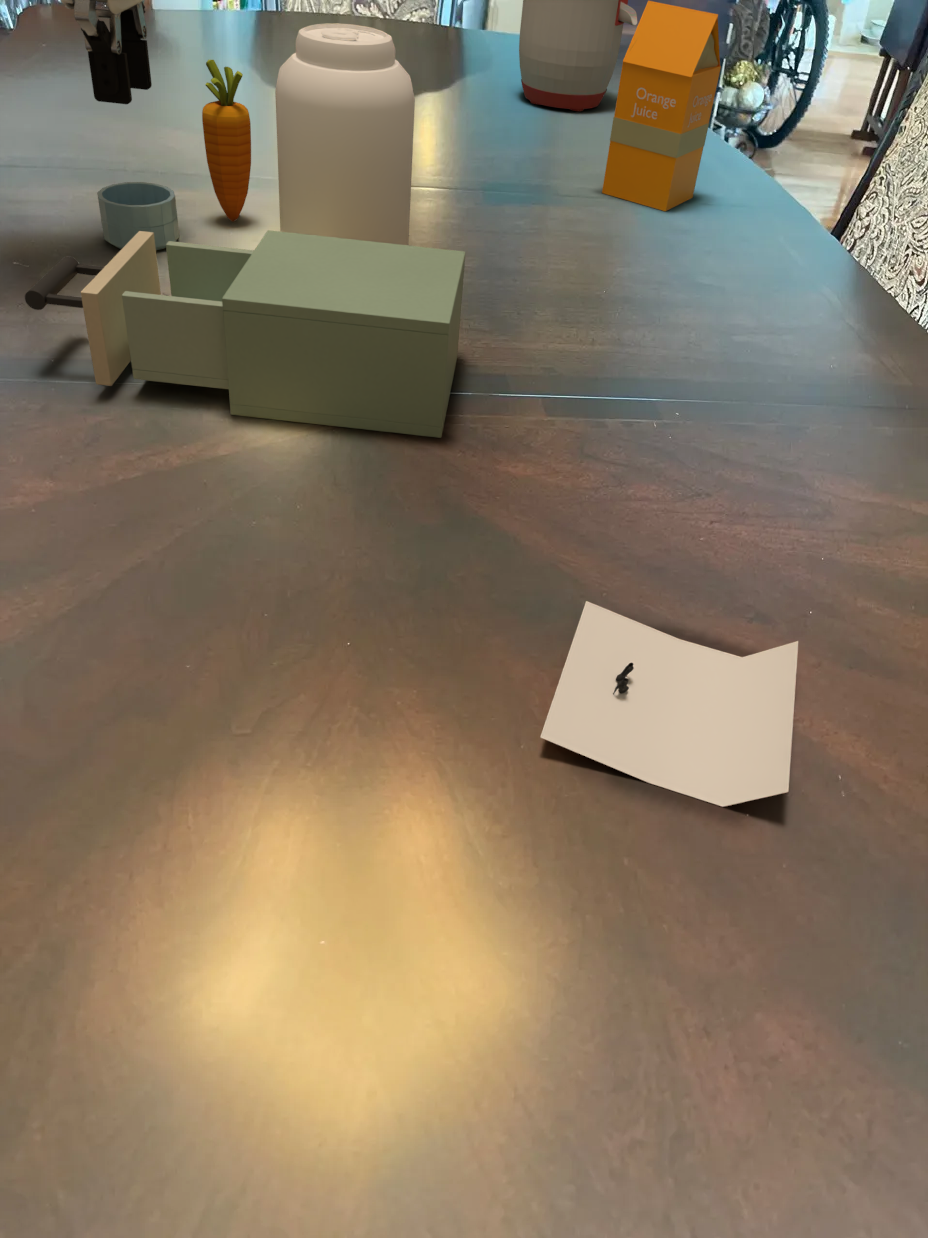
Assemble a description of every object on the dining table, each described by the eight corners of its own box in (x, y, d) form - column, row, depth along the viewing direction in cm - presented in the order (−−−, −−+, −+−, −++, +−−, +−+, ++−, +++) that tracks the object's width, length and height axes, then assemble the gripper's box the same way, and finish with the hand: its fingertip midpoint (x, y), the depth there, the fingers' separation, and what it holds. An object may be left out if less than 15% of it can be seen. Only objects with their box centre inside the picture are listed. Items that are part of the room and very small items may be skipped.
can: (376, 293, 95) (382, 53, 82) (257, 266, 98) (245, 29, 85) (426, 251, 104) (439, 29, 91) (316, 227, 107) (313, 9, 94)
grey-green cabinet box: (230, 414, 76) (221, 297, 70) (272, 336, 86) (267, 229, 80) (441, 438, 75) (449, 322, 70) (457, 356, 86) (465, 251, 80)
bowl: (93, 249, 98) (86, 201, 95) (118, 224, 103) (112, 178, 100) (166, 257, 97) (161, 209, 95) (188, 232, 103) (183, 186, 100)
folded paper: (583, 615, 61) (588, 589, 59) (788, 666, 59) (798, 640, 57) (536, 755, 52) (541, 728, 50) (776, 821, 50) (788, 795, 48)
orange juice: (630, 179, 129) (662, -3, 116) (693, 197, 125) (734, 10, 112) (600, 192, 123) (630, 3, 111) (665, 211, 120) (704, 18, 107)
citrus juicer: (611, 123, 149) (636, -37, 136) (498, 104, 153) (513, -55, 140) (632, 101, 161) (657, -49, 148) (527, 83, 164) (543, -65, 151)
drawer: (22, 376, 76) (1, 283, 71) (84, 308, 85) (69, 222, 81) (290, 405, 75) (287, 314, 71) (322, 334, 85) (321, 250, 80)
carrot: (265, 225, 106) (257, 66, 96) (220, 232, 104) (208, 69, 94) (244, 210, 109) (235, 54, 99) (201, 216, 107) (187, 56, 97)
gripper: (85, -168, 87) (115, 69, 98) (-1, -159, 74) (45, 113, 85) (172, -159, 87) (192, 77, 98) (101, -148, 74) (134, 123, 85)
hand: (123, 92), depth 92 cm, fingers open, 4 cm apart
